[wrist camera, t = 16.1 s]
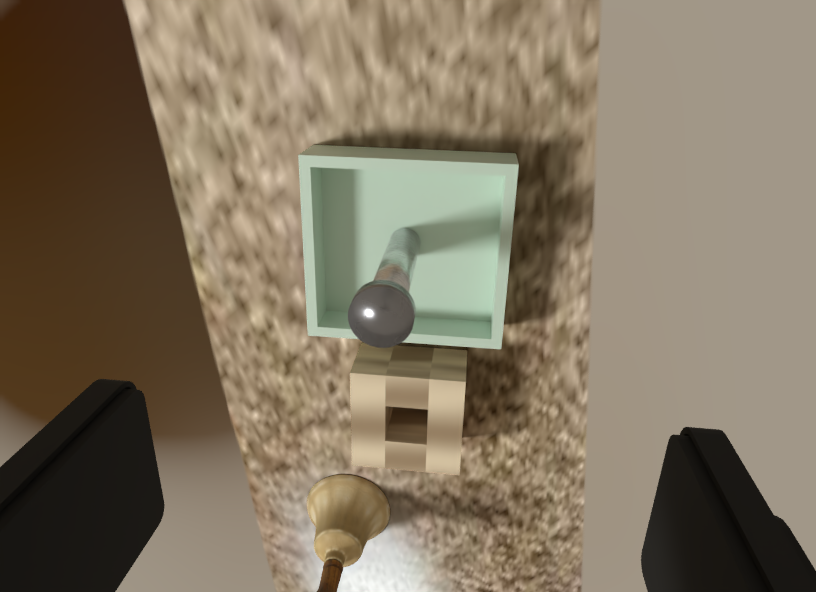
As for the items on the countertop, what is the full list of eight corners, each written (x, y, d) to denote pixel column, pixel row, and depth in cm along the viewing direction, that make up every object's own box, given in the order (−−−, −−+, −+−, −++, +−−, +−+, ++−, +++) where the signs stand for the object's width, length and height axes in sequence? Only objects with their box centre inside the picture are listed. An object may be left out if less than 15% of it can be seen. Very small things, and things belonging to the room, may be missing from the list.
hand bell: (387, 474, 57) (355, 626, 43) (393, 540, 60) (365, 702, 46) (302, 472, 58) (242, 619, 44) (312, 537, 61) (260, 694, 47)
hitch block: (361, 342, 52) (349, 373, 47) (467, 350, 51) (465, 381, 46) (362, 429, 55) (351, 465, 51) (461, 437, 54) (459, 475, 50)
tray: (313, 144, 45) (298, 154, 42) (515, 153, 44) (518, 164, 40) (320, 313, 51) (307, 335, 47) (499, 325, 49) (501, 349, 46)
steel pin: (380, 217, 46) (347, 286, 34) (430, 220, 45) (414, 290, 34) (380, 264, 47) (348, 345, 35) (428, 266, 47) (413, 349, 35)
